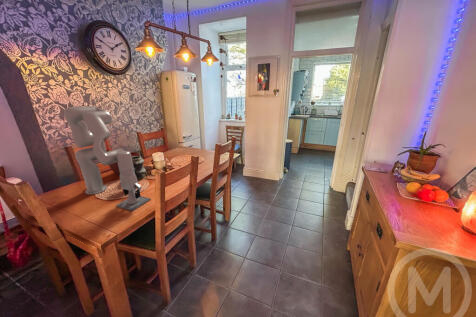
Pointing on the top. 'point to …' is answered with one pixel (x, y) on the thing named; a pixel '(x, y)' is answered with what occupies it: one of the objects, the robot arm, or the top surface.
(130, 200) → the flask
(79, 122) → the robot arm
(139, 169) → the apothecary jar
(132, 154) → the plant pot
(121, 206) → the slate coaster
